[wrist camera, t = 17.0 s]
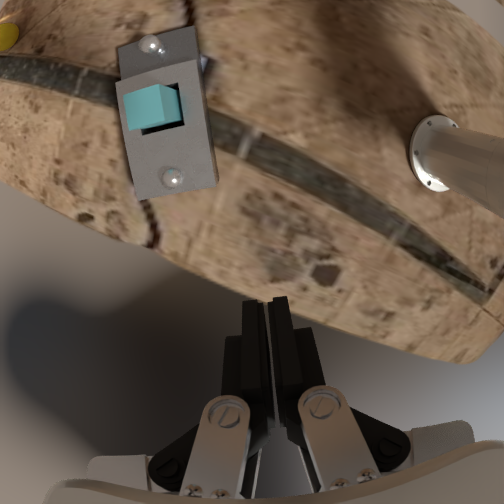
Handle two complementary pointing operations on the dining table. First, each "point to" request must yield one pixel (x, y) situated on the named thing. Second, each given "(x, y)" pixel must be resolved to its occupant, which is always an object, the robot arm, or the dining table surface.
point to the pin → (152, 107)
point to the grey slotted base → (175, 139)
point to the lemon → (8, 35)
